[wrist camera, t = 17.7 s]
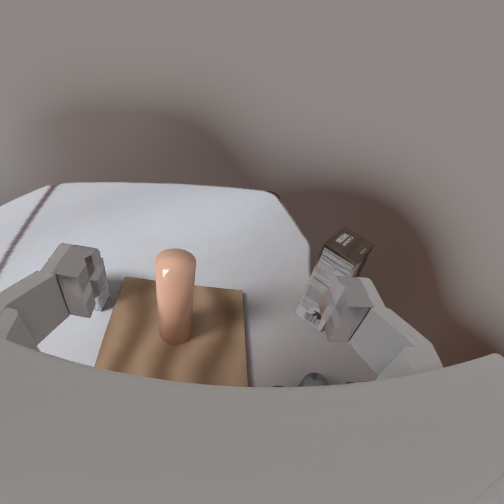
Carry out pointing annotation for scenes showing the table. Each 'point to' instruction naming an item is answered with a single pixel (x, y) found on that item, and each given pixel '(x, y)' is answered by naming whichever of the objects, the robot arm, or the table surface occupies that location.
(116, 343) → the walnut board
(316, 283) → the coffee box
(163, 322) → the peach rounded cylinder
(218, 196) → the table surface
